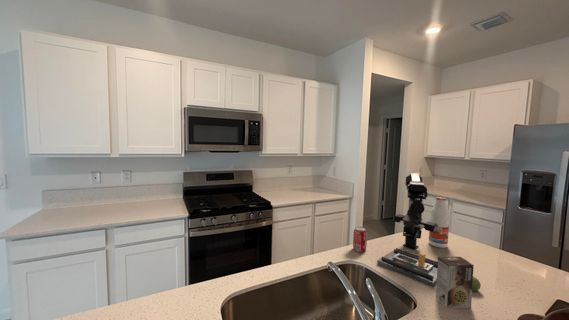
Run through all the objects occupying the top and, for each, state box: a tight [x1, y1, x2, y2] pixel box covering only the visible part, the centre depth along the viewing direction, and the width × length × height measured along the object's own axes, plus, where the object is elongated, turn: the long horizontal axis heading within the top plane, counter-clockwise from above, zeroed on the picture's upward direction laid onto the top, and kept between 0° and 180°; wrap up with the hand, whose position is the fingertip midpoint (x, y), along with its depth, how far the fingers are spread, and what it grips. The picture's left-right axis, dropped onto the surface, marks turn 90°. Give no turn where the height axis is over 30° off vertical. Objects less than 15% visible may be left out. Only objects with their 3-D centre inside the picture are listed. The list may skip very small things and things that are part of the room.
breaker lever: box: [416, 252, 428, 268], centre depth 109 cm, size 3×4×6 cm
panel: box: [376, 249, 437, 288], centre depth 112 cm, size 20×24×3 cm
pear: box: [472, 276, 482, 292], centre depth 98 cm, size 6×5×10 cm
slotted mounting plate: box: [380, 247, 438, 280], centre depth 112 cm, size 22×17×1 cm
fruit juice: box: [428, 196, 450, 249], centre depth 138 cm, size 9×9×28 cm
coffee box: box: [435, 256, 474, 309], centre depth 87 cm, size 9×6×16 cm
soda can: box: [352, 226, 368, 253], centre depth 129 cm, size 7×7×12 cm
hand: (413, 239), depth 117 cm, fingers closed
